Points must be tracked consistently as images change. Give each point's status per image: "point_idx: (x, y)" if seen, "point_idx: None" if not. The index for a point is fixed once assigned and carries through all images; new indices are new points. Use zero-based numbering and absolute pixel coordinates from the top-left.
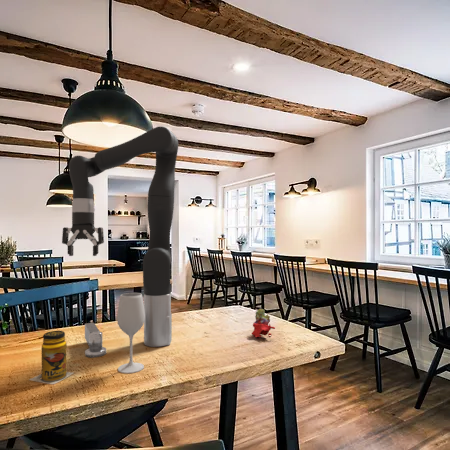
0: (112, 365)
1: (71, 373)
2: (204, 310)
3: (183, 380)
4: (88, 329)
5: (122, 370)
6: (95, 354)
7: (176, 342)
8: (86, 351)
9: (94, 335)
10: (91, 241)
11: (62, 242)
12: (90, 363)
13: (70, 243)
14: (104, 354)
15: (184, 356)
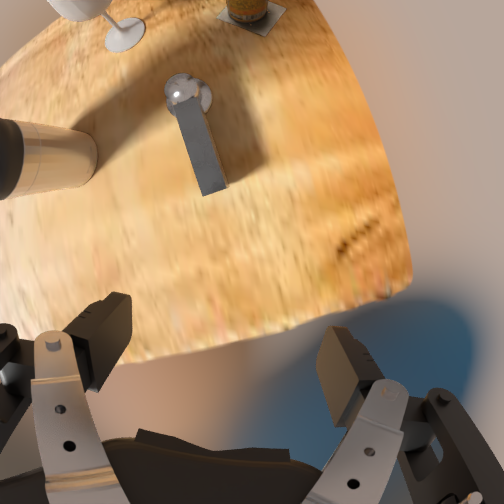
0: (153, 44)
1: (220, 16)
2: None
3: None
4: (204, 124)
5: (137, 21)
6: None
7: None
8: (207, 91)
9: (181, 73)
10: (76, 375)
11: (450, 395)
12: (193, 53)
13: (374, 396)
14: None
15: (46, 88)
